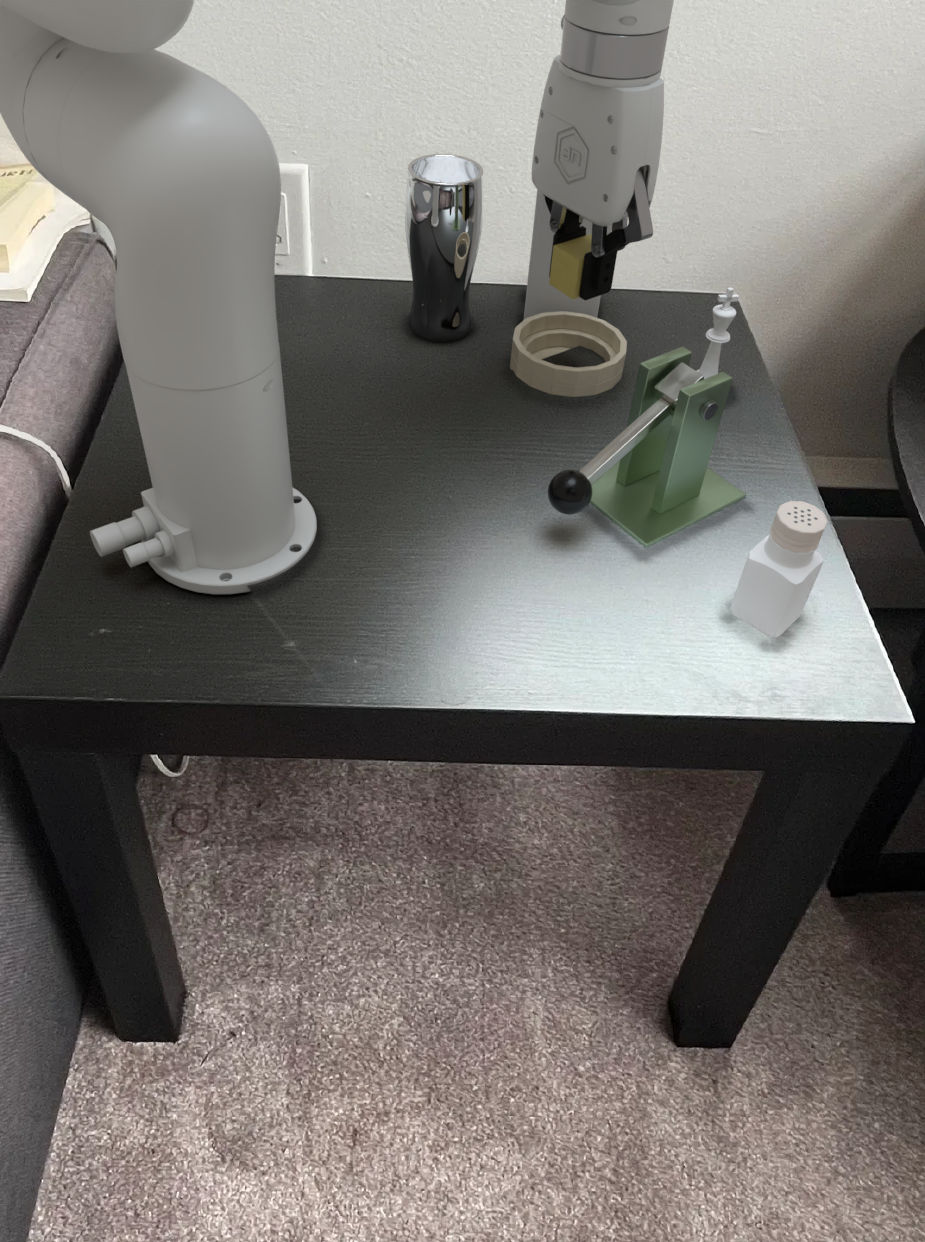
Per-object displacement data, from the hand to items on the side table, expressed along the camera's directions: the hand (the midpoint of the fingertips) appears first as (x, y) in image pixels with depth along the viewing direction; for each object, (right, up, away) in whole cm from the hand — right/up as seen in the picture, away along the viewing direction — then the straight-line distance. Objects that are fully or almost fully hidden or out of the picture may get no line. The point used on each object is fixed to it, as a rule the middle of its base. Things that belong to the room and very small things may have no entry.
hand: (579, 283), depth 84 cm
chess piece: (+12, -8, +5) cm, 15 cm away
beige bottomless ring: (-1, -6, +6) cm, 9 cm away
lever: (+2, -17, -12) cm, 21 cm away
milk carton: (0, +2, +14) cm, 14 cm away
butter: (0, 0, 0) cm, 0 cm away
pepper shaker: (+11, -29, -15) cm, 34 cm away
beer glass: (-12, 0, +11) cm, 17 cm away
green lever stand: (+5, -19, -6) cm, 21 cm away
